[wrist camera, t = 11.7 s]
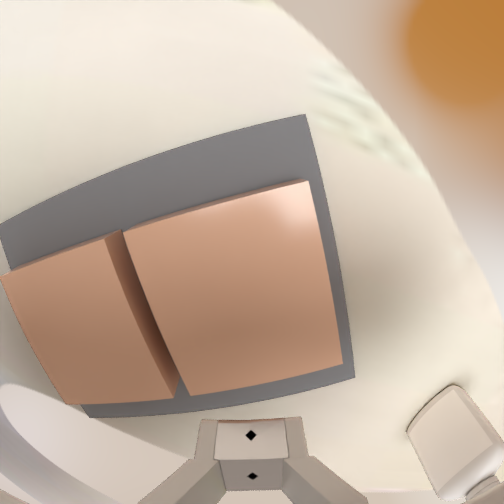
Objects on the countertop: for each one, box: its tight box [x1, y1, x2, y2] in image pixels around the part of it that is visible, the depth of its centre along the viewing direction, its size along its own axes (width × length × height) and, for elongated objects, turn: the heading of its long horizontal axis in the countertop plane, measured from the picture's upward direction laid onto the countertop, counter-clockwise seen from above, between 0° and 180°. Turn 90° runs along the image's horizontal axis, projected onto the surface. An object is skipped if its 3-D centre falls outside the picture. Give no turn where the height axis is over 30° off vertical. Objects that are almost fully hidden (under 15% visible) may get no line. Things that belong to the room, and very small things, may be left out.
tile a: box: [0, 229, 180, 404], centre depth 15 cm, size 8×2×9 cm
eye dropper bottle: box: [407, 385, 504, 501], centre depth 13 cm, size 4×6×12 cm
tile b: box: [123, 179, 343, 396], centre depth 15 cm, size 8×2×9 cm
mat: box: [0, 114, 355, 418], centre depth 16 cm, size 19×15×1 cm
